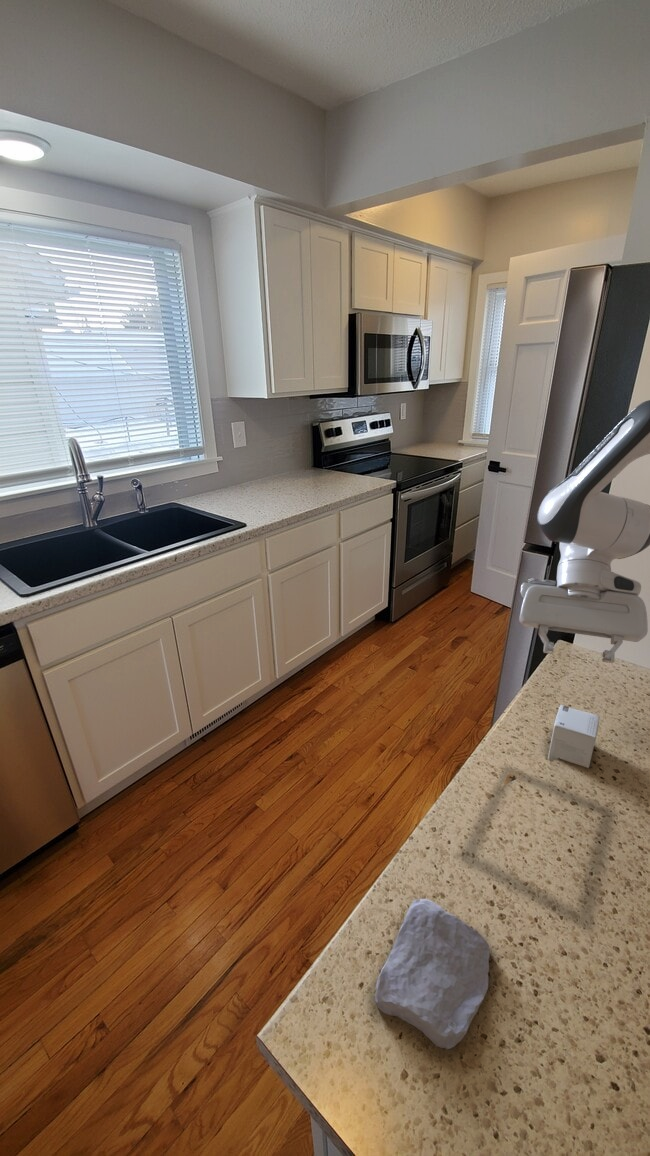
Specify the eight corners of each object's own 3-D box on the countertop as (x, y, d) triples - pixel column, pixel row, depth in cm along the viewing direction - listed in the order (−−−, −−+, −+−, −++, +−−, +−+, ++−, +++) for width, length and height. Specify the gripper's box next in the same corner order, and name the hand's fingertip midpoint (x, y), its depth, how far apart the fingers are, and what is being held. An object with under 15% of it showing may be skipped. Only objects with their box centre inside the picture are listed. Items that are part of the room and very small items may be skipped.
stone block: (489, 958, 56) (409, 903, 59) (502, 939, 53) (418, 883, 57) (456, 1081, 47) (365, 1007, 50) (470, 1065, 44) (373, 988, 48)
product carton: (587, 774, 77) (596, 738, 74) (546, 760, 80) (553, 724, 77) (591, 750, 82) (600, 715, 79) (553, 737, 85) (559, 703, 82)
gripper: (523, 571, 90) (515, 643, 85) (651, 584, 83) (650, 663, 78) (520, 583, 95) (513, 651, 91) (640, 596, 88) (638, 671, 84)
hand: (577, 657), depth 85 cm, fingers open, 8 cm apart
